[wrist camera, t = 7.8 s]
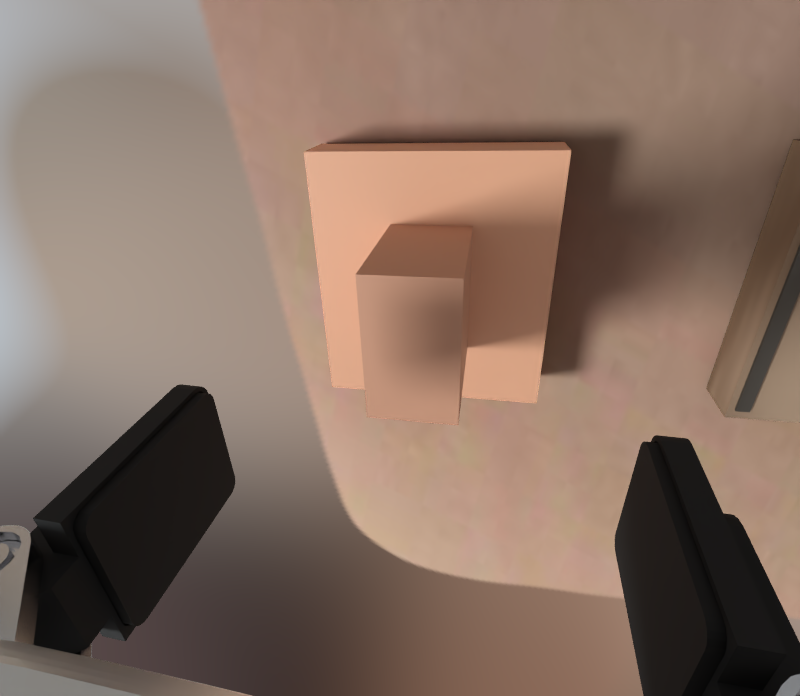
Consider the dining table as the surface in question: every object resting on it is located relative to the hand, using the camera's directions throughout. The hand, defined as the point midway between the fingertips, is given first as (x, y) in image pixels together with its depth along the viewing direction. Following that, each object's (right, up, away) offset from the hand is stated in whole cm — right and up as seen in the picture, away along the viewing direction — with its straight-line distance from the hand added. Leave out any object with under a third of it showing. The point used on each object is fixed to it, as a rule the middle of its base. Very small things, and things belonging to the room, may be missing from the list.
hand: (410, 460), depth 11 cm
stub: (+1, +6, +10) cm, 11 cm away
